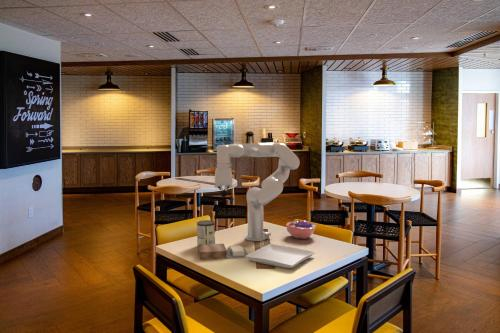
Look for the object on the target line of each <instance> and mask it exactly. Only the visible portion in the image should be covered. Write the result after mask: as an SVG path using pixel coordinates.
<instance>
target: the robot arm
mask: <svg viewBox="0 0 500 333" xmlns="http://www.w3.org/2000/svg"><path fill="white" fill-rule="evenodd" d="M241 157H253V158H268V157H269V158H270V157H271V158H272V157H277V158H279V159H278V167H277V169H276V170H275V171H274V172H273V173H272V174H270V175H269V176H268V177H266V178H265V179H264V180H262V181H261V184H260V185H261V187H256V186H253V187H249V189H248V190H247V191H246V203H247V235H245V237H244V239H245V240H246V241H249V242H261V241H262V242H263V241H265V240H266V239H267V237H266V236H268V237H270V236H272V232H268V231H264V206H265V205H267V204H269V203H270V202H272V201H273V200H274V199H276V198H277V197H278V196H279V195H280V194H282V192H283V189H284V183H285V182H286V181H287V180H288V178H289V176H290V172H291V171H290V170H292V171H293V170H297V169H298V168H299V166H300V159H299V157H298V156H297V155H296V154H295V153H294V152H293V151H292V150H291V149H290V148H289V146H287V145H286V144H284V143H283V142H282V143H281V142H251V143H250V142H249V143H229V144H218V145H217V147H216V168H215V170H214V186H213V187H214V188H215V189H219V190H220V197H221V198H223V199H224V198H226V196H227V191H228V190H229V189H230V188H233V187H234V185H233V172H232V168H231V167H233V164H232V163H231V158H241ZM223 187H224V188H223Z"/></svg>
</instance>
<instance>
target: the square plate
mask: <svg viewBox="0 0 500 333" xmlns="http://www.w3.org/2000/svg"><path fill="white" fill-rule="evenodd" d="M315 253H316V252H315V251H312V250H308V249H302V248H298V247H292V246H286V245H281V244H274V243H269V244H267V245H264V246H263V247H260V248H258V249H256V250H254V251H252V252H250V253H248V255H246V256H245V257H247V258H246V259H247V260H250V261H251V262H252V261H253V262H256V263H259V264H265V265H269V266H275V267H279V268H285V269H293V268H294V267H296V266H297V265H299V264H300V263H302V262H304V261H306V260H307V259H310V258H311V257H312V256H313V255H314V254H315Z"/></svg>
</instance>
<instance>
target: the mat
mask: <svg viewBox="0 0 500 333" xmlns="http://www.w3.org/2000/svg"><path fill="white" fill-rule="evenodd" d="M226 250H227V259H245V258H246V259H248V258H247V257H245V256H246V255H248V254H249V253H248V251H247V250H246V248H243V250H244V256H233V255H232V252H231V248H230V249H226Z"/></svg>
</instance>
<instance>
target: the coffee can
mask: <svg viewBox="0 0 500 333" xmlns="http://www.w3.org/2000/svg"><path fill="white" fill-rule="evenodd" d="M215 224H216V222H215V221H213V220H211V219H210V220H199V221H197V222H196V235H197V236H196V237H197V238H196V239H197V240H196V242H197V244H196V245H197V246H196V247H197V248H198V245H204V244H216V230H215V229H216V228H215V226H216V225H215Z"/></svg>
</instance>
